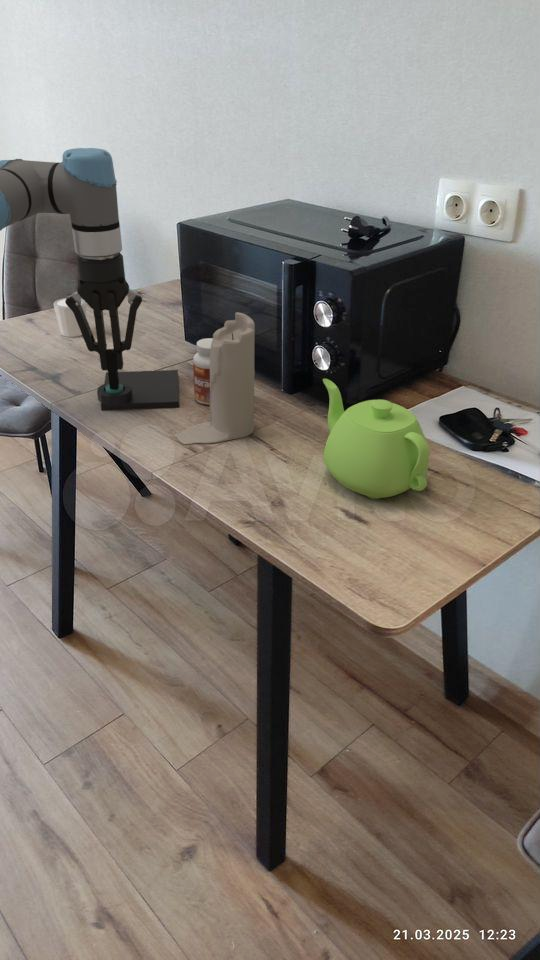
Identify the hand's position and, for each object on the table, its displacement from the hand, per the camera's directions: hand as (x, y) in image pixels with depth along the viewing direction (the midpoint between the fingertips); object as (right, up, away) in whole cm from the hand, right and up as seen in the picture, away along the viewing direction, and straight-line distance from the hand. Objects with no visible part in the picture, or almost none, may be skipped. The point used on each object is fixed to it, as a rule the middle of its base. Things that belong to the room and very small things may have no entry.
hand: (114, 385), depth 127 cm
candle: (+19, -9, -6) cm, 22 cm away
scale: (+4, 0, +6) cm, 7 cm away
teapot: (+44, -17, -17) cm, 50 cm away
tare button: (0, -2, +1) cm, 2 cm away
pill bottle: (+17, -2, +5) cm, 18 cm away
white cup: (-16, +16, +31) cm, 38 cm away
